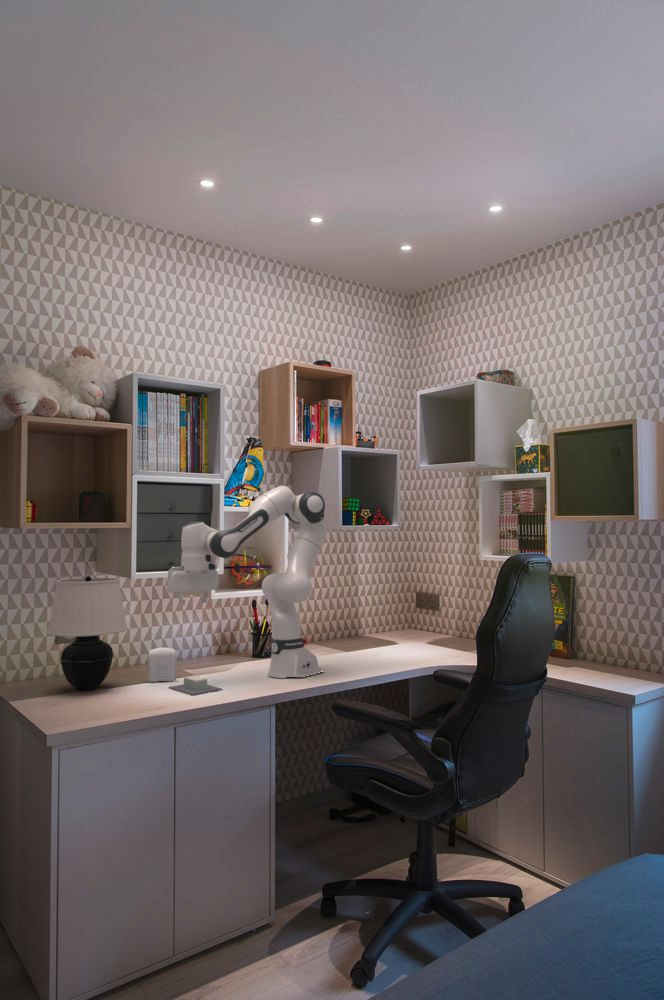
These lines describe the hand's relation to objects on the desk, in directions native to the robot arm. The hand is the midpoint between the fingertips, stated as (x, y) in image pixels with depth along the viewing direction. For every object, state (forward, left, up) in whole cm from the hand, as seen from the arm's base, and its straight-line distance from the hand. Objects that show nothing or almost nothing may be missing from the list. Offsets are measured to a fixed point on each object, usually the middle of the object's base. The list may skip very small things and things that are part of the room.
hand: (193, 603), depth 258 cm
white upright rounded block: (+6, -12, -29) cm, 32 cm away
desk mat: (+5, +8, -29) cm, 31 cm away
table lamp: (+32, -18, -29) cm, 47 cm away
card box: (+4, +8, -28) cm, 30 cm away
